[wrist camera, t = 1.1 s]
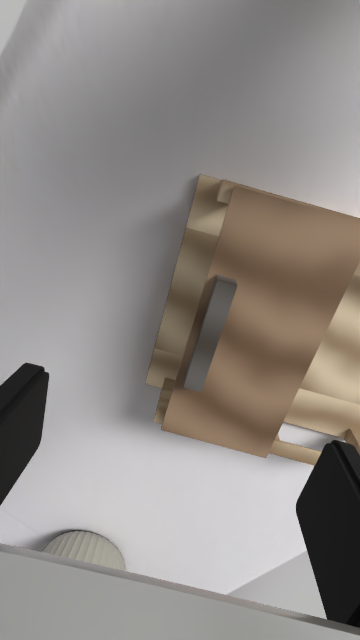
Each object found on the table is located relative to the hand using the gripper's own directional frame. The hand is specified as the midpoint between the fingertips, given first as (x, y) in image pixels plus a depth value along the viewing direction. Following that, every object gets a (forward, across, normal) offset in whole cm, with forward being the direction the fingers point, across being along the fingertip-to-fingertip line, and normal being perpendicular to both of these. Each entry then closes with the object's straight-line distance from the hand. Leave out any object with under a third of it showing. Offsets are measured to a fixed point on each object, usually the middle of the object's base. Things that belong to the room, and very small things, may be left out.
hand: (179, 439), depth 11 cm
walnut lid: (+19, -6, +3) cm, 20 cm away
